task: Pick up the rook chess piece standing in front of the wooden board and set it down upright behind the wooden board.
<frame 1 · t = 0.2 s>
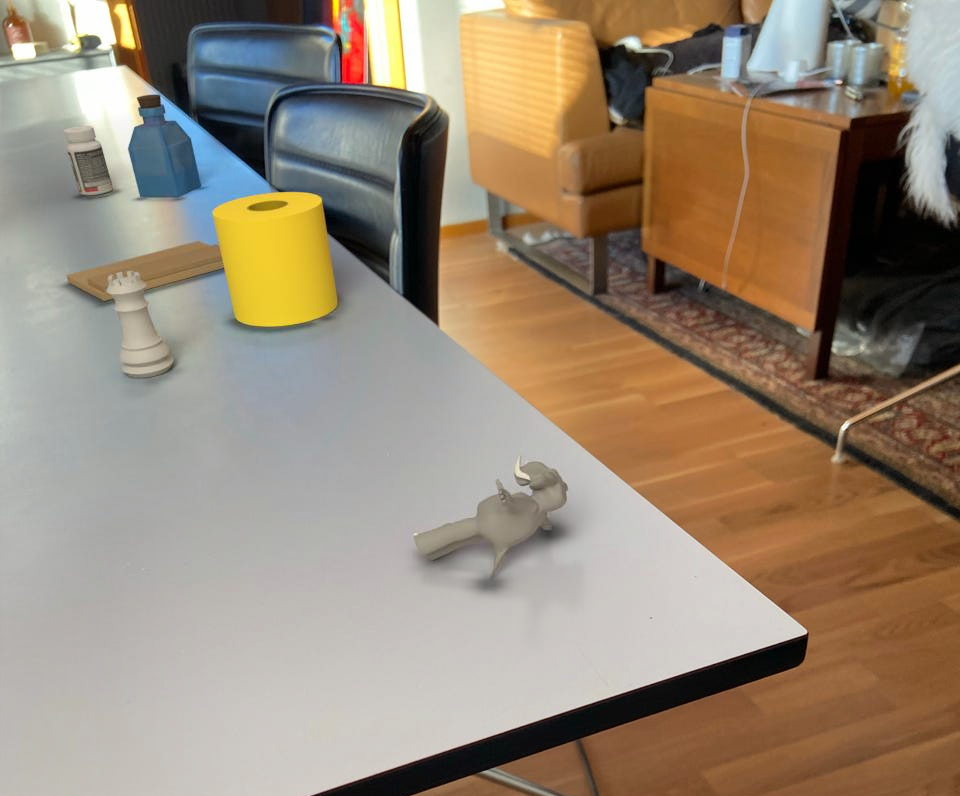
wooden board: (155, 272, 112), on the table
pill bottle: (97, 193, 147), on the table
perfume bottle: (171, 192, 144), on the table
yellow toilet paper roll: (286, 310, 99), on the table
rook chess piece: (149, 371, 88), on the table
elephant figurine: (501, 568, 59), on the table
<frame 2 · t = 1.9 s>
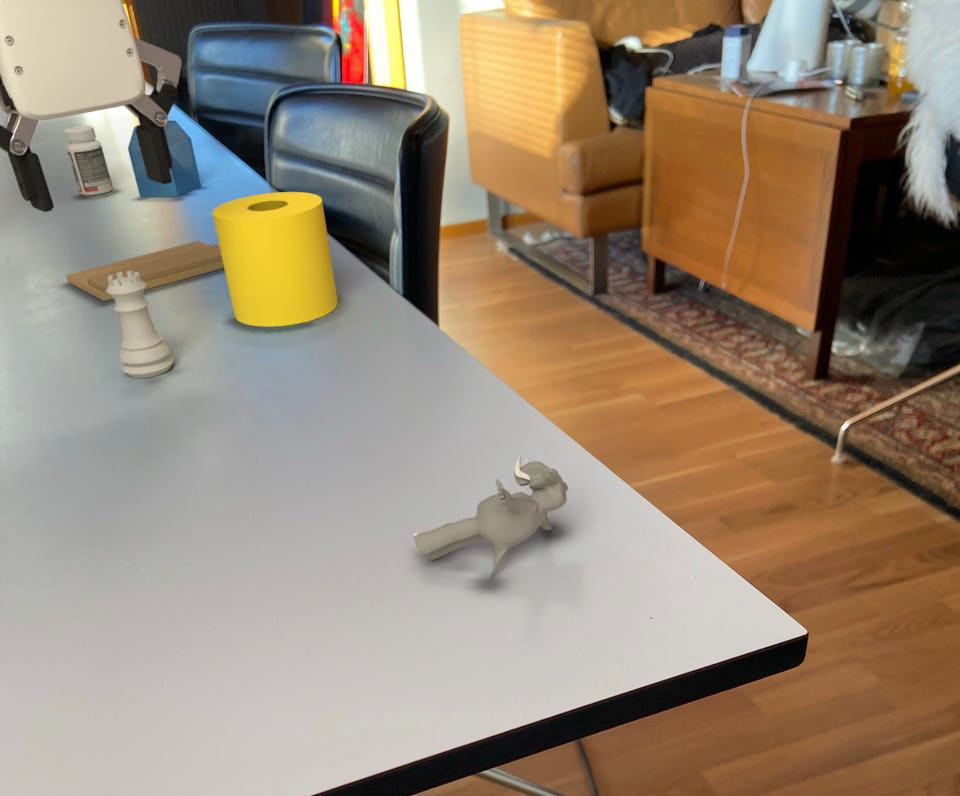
hand: (103, 194, 79), 14 cm above the table, tool pointing down, fingers open, 9 cm apart
nothing on the table moved.
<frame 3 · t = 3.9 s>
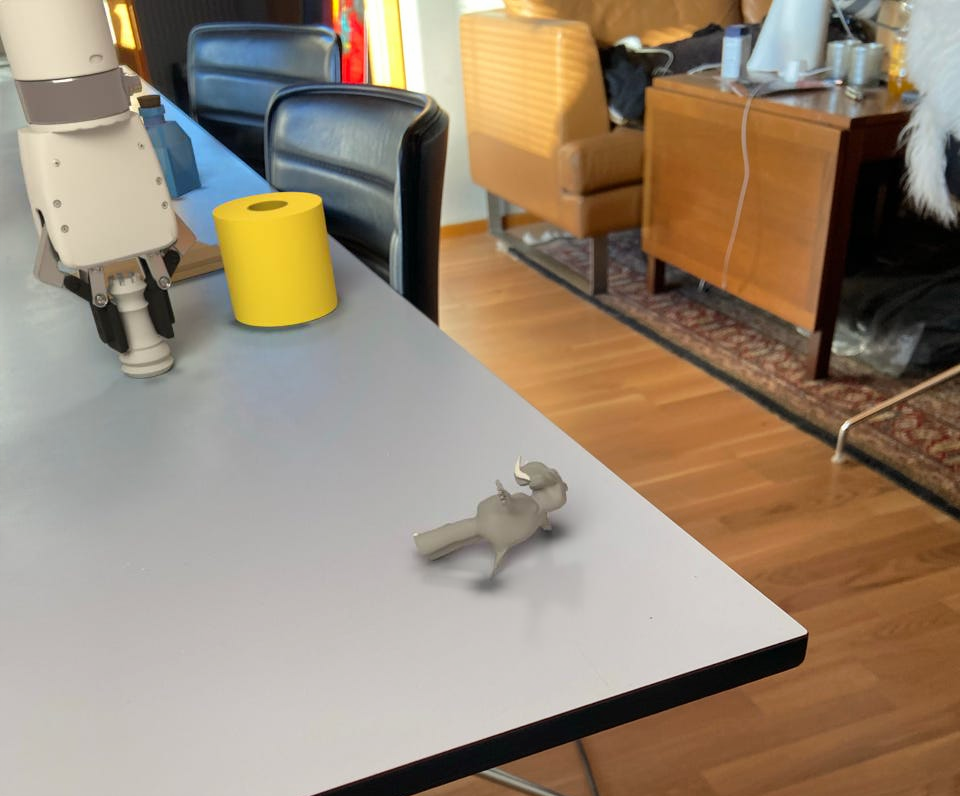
hand: (140, 339, 86), 3 cm above the table, tool pointing down, fingers closed on rook chess piece, 3 cm apart
rook chess piece: (149, 371, 88), on the table, touching gripper
everything else where it was.
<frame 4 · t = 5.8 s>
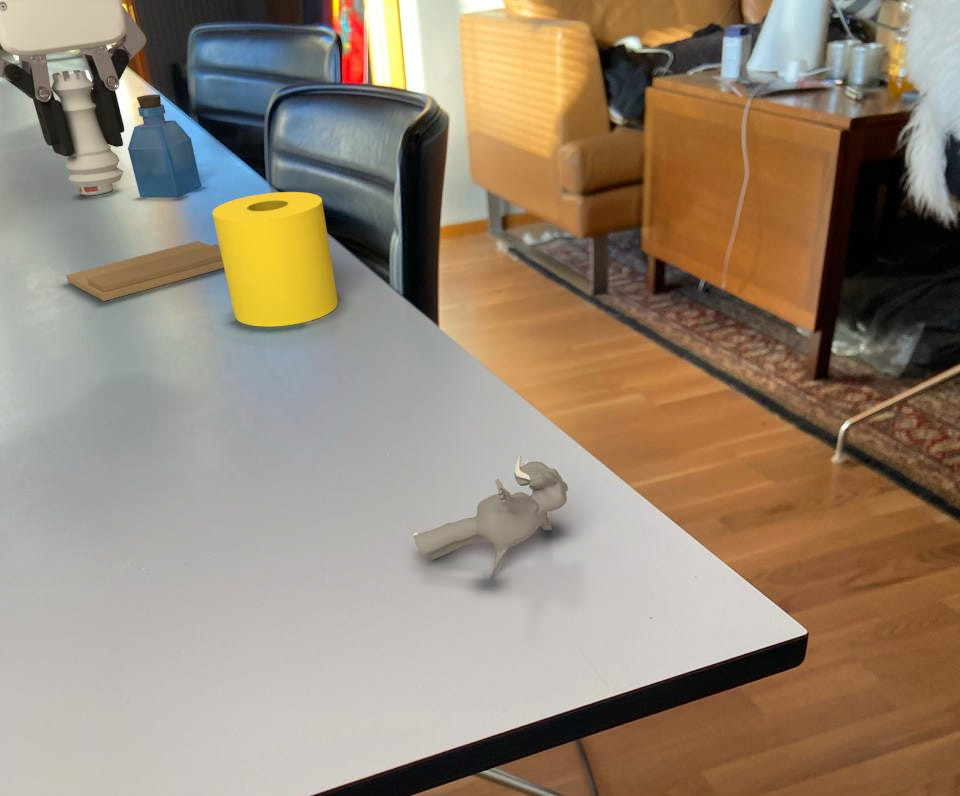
hand: (88, 146, 83), 17 cm above the table, tool pointing down, fingers closed on rook chess piece, 3 cm apart
rook chess piece: (98, 183, 85), point 14 cm above the table, touching gripper
everything else where it was.
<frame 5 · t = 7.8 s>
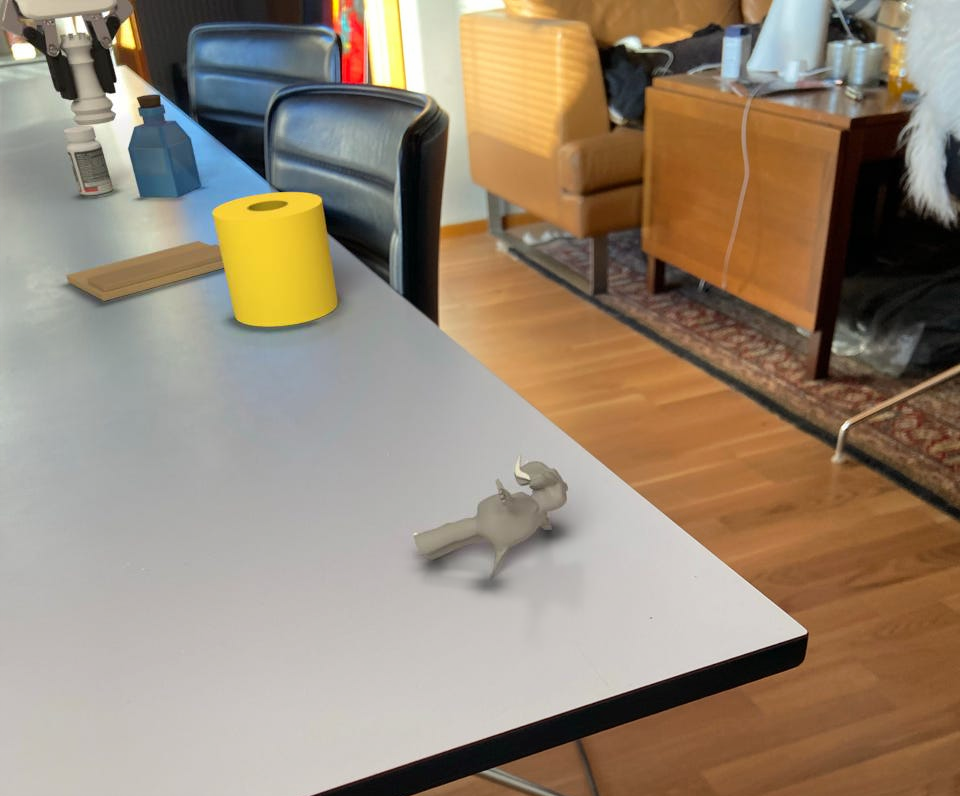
hand: (88, 93, 106), 17 cm above the table, tool pointing down, fingers closed on rook chess piece, 3 cm apart
rook chess piece: (96, 123, 108), point 14 cm above the table, touching gripper
everything else where it was.
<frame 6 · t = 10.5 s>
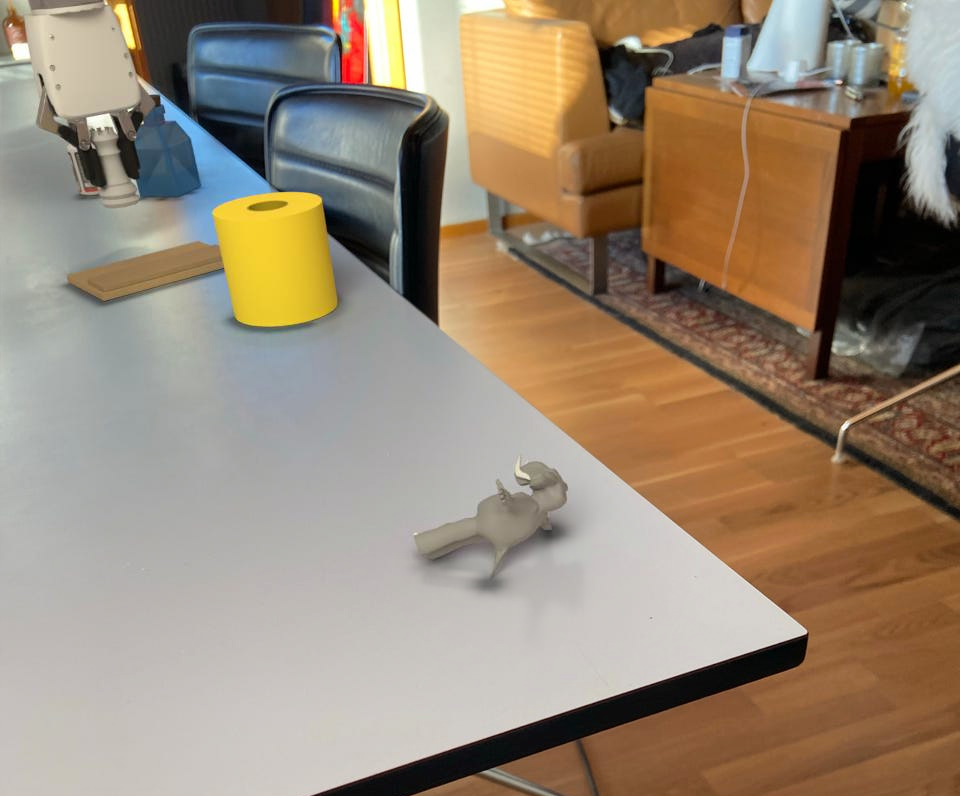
hand: (115, 180, 117), 7 cm above the table, tool pointing down, fingers closed on rook chess piece, 3 cm apart
rook chess piece: (122, 205, 119), point 5 cm above the table, touching gripper
everything else where it was.
when the fingers open (3 cm above the table, at t = 12.0 s): rook chess piece stays where it is, on the table.
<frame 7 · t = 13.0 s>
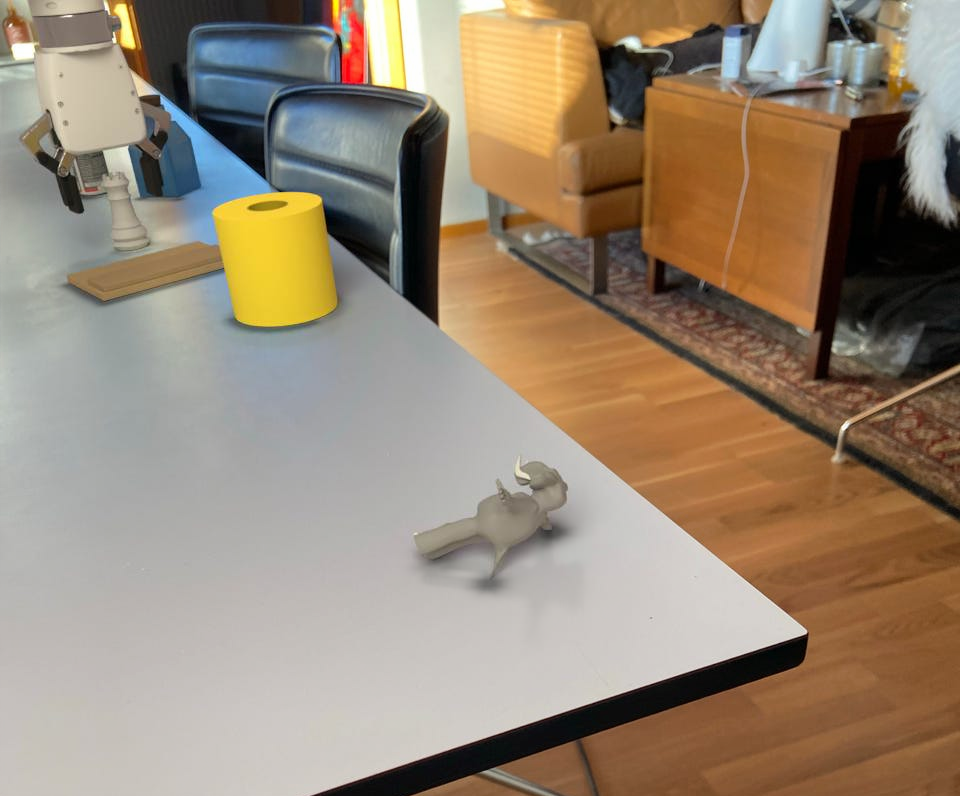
hand: (117, 203, 118), 5 cm above the table, tool pointing down, fingers open, 9 cm apart
rook chess piece: (132, 247, 122), on the table
everything else where it was.
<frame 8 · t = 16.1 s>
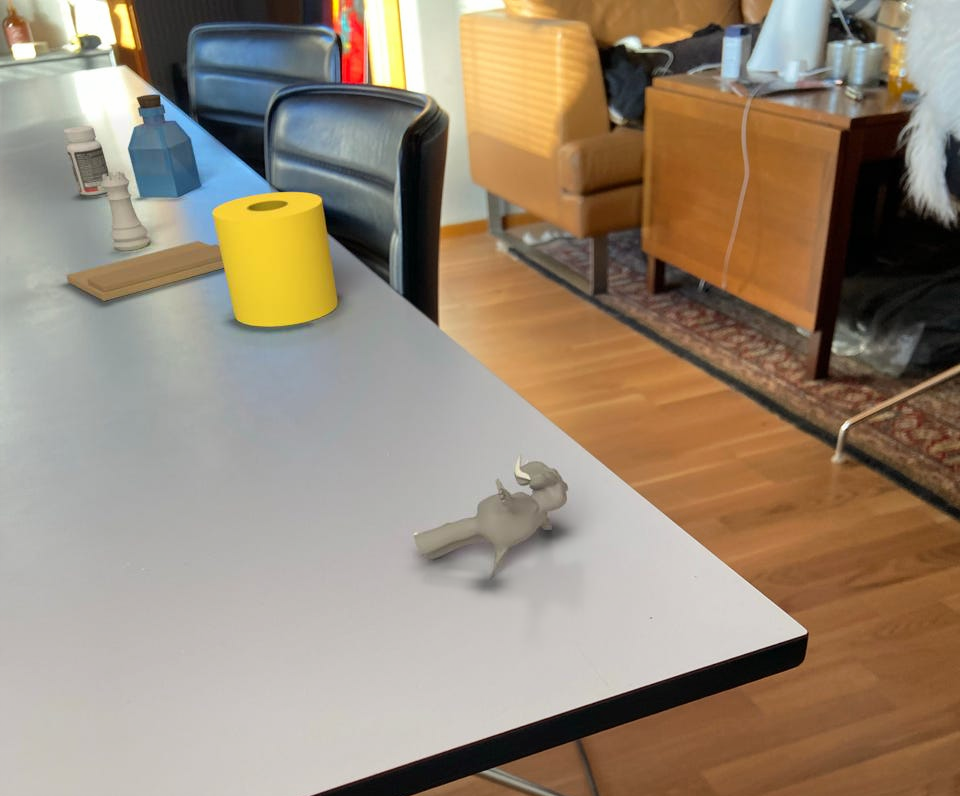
nothing on the table moved.
at the end: rook chess piece inside the target area on the table beside the wooden board (0.5 cm from its centre), on the table; rook chess piece tilted 0° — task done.
